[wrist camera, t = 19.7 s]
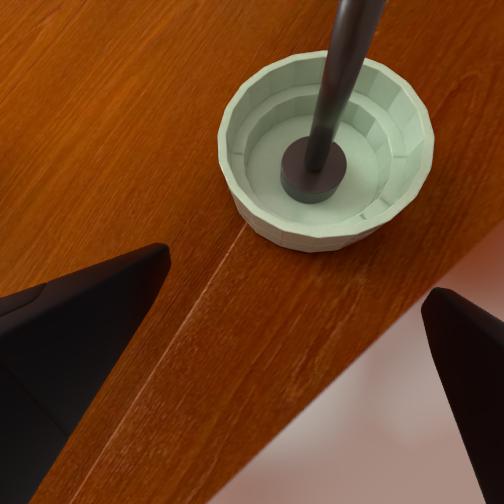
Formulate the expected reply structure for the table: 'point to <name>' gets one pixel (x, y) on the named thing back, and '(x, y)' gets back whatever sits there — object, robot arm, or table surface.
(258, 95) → the mixing bowl
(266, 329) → the table surface
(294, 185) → the joystick
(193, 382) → the table surface
